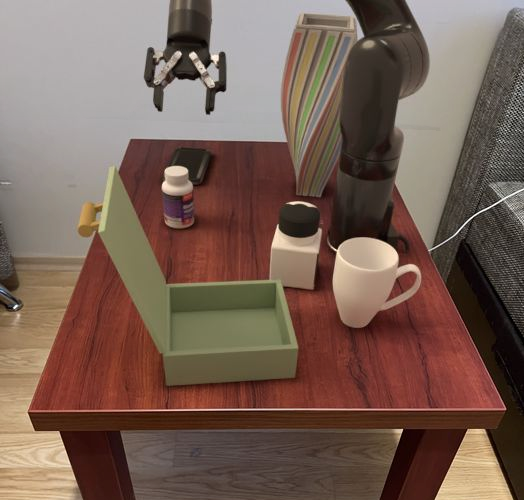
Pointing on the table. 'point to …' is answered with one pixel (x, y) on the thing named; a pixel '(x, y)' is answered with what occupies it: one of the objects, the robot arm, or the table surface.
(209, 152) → the phone
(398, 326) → the table surface
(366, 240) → the mug
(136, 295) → the green box lid
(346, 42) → the vase
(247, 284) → the green open box
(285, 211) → the medicine bottle
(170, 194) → the pill bottle
